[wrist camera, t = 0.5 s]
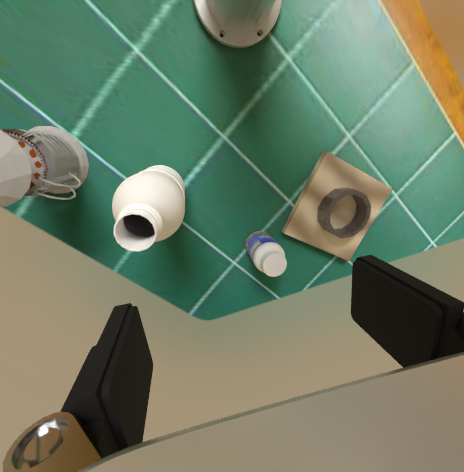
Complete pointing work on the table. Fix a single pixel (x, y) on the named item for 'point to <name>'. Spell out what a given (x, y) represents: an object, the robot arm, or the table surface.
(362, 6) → the table surface
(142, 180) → the water bottle
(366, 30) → the table surface
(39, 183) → the french press
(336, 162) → the stand plate
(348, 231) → the collar
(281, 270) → the pill bottle
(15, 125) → the table surface
